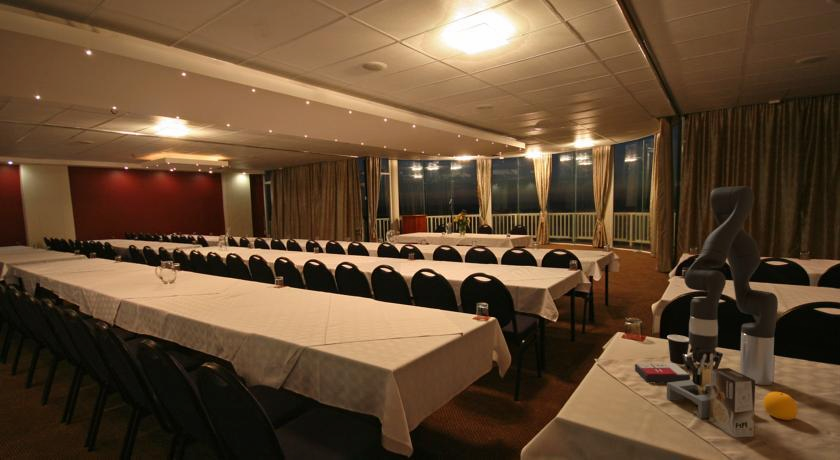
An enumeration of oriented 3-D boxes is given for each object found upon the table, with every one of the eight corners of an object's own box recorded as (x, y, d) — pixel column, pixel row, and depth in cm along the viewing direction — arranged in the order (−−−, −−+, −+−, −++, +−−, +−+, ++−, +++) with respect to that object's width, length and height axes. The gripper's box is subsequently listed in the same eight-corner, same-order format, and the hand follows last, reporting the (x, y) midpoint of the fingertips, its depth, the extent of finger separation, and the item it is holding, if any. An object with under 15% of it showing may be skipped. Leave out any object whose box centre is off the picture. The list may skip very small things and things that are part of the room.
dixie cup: (661, 361, 167) (662, 335, 166) (678, 360, 168) (679, 334, 167) (676, 369, 159) (677, 341, 158) (694, 367, 160) (695, 340, 159)
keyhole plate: (710, 392, 138) (711, 377, 138) (749, 411, 126) (749, 394, 125) (666, 398, 134) (667, 382, 134) (701, 418, 122) (701, 400, 121)
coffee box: (755, 436, 112) (757, 380, 111) (733, 438, 111) (736, 381, 111) (727, 419, 121) (729, 367, 120) (707, 420, 121) (709, 368, 120)
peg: (700, 399, 133) (701, 363, 132) (714, 406, 128) (715, 369, 127) (688, 401, 132) (689, 365, 131) (701, 408, 127) (702, 371, 126)
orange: (760, 408, 128) (761, 385, 128) (793, 414, 124) (794, 390, 124) (766, 419, 121) (767, 395, 121) (801, 426, 117) (802, 401, 117)
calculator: (634, 362, 158) (675, 361, 156) (634, 372, 158) (675, 372, 156) (646, 373, 147) (690, 373, 145) (646, 385, 147) (691, 385, 145)
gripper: (710, 326, 133) (709, 376, 134) (674, 329, 130) (673, 381, 132) (732, 333, 126) (730, 386, 127) (695, 336, 123) (693, 391, 124)
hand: (701, 383), depth 129 cm, fingers closed on peg, 3 cm apart
